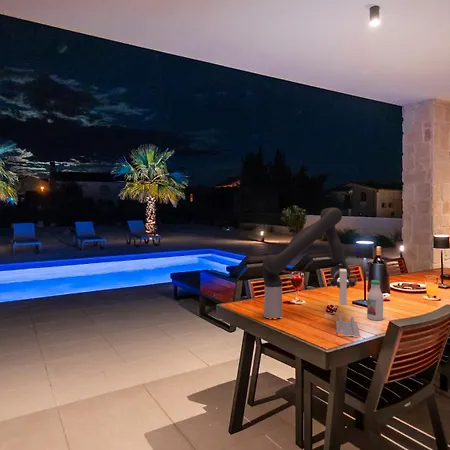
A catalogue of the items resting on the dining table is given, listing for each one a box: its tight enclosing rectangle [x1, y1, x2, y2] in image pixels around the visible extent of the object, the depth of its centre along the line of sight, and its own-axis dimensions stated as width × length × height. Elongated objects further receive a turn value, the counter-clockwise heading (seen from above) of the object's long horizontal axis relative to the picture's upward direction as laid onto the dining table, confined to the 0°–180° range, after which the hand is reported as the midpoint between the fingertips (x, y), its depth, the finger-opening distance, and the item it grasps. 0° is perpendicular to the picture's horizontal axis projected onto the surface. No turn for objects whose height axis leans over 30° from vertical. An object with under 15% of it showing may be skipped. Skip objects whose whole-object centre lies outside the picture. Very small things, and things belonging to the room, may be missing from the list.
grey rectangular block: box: [338, 269, 348, 306], centre depth 191 cm, size 3×6×16 cm, turn 166°
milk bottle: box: [366, 279, 384, 321], centre depth 208 cm, size 8×8×20 cm
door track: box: [335, 315, 361, 337], centre depth 192 cm, size 10×20×4 cm, turn 166°
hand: (343, 286), depth 188 cm, fingers closed on grey rectangular block, 3 cm apart
